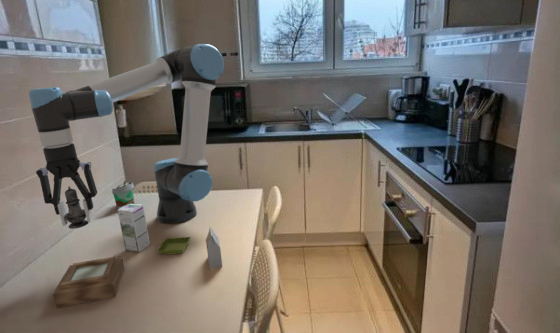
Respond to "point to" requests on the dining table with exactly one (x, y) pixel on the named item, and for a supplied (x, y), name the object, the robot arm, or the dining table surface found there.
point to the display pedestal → (89, 281)
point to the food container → (123, 194)
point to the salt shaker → (74, 210)
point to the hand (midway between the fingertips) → (78, 221)
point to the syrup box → (133, 227)
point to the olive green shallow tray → (173, 245)
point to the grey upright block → (213, 250)
